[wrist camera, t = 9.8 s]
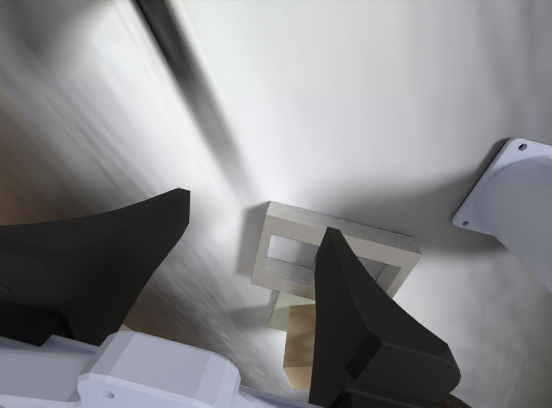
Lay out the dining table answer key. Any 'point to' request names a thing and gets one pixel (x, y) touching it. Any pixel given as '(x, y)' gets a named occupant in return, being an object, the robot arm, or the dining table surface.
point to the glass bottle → (452, 402)
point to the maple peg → (300, 345)
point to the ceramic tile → (285, 309)
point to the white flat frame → (311, 229)
